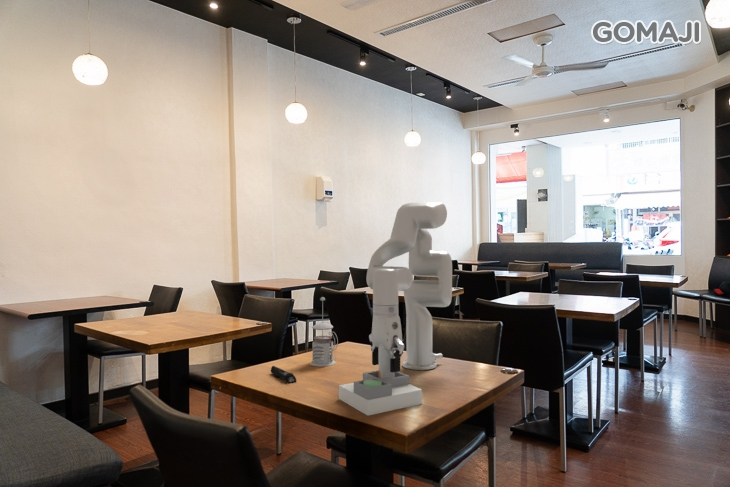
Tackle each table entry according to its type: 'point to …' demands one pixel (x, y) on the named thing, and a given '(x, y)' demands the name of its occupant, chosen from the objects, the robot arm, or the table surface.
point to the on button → (372, 383)
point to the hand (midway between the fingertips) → (385, 368)
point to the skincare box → (384, 363)
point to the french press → (323, 345)
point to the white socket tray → (381, 394)
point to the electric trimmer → (283, 375)
